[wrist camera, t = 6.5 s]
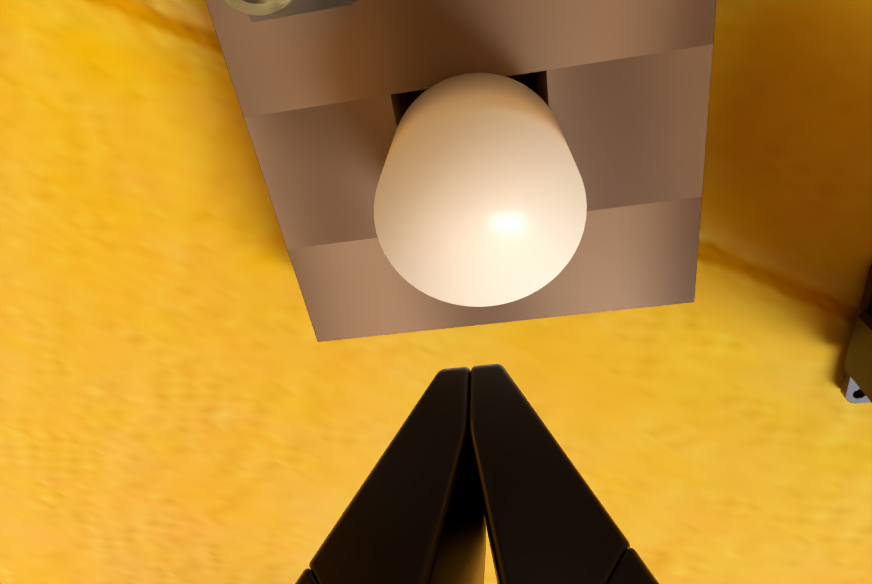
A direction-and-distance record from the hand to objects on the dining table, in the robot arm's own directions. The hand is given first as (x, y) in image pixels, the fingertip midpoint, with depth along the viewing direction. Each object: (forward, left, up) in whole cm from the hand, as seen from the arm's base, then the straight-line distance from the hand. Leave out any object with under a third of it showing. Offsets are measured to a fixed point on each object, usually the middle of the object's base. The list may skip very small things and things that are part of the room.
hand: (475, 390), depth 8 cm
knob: (0, 0, -12) cm, 12 cm away
